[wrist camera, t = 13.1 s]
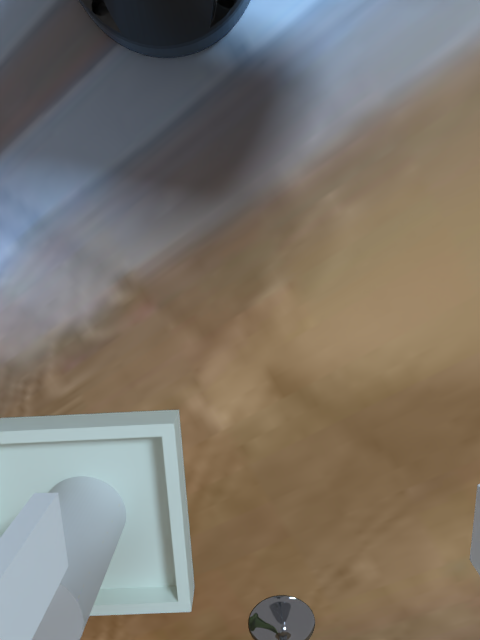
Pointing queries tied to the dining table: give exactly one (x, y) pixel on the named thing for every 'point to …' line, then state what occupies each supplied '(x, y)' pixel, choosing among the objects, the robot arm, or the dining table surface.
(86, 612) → the white round cylinder
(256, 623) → the wine glass
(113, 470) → the tray
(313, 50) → the dining table surface
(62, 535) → the robot arm
